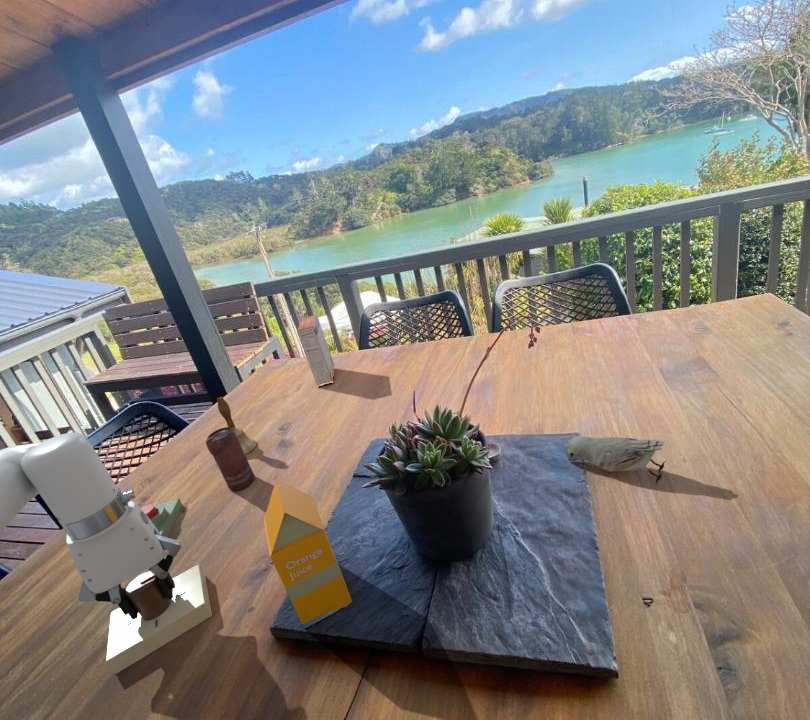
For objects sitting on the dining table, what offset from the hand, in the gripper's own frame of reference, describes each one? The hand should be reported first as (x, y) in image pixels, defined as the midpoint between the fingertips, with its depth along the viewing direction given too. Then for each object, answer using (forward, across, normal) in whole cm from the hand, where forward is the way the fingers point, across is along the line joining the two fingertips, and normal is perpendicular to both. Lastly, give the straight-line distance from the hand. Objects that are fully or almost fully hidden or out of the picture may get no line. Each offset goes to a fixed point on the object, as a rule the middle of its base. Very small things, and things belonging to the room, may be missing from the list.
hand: (152, 601), depth 69 cm
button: (+1, +1, -28) cm, 28 cm away
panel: (+4, 0, 0) cm, 4 cm away
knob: (+1, 0, 0) cm, 1 cm away
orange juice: (+5, -23, +14) cm, 27 cm away
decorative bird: (+5, -75, +27) cm, 80 cm away
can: (+5, -18, -29) cm, 34 cm away
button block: (+4, +1, -28) cm, 28 cm away
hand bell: (+5, -21, -46) cm, 51 cm away
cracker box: (+5, -55, -69) cm, 88 cm away
